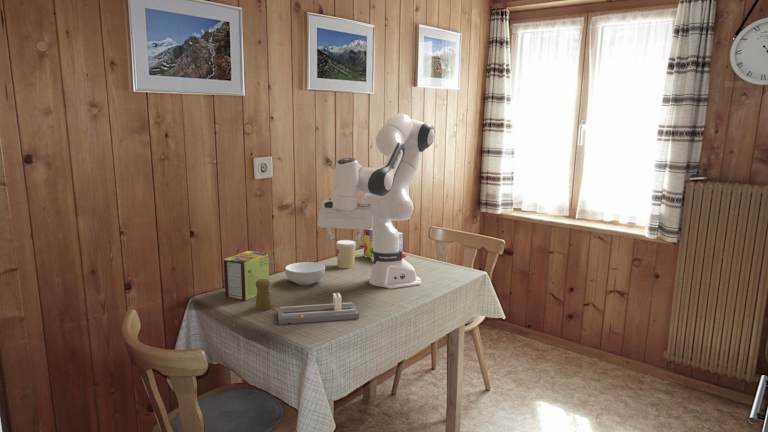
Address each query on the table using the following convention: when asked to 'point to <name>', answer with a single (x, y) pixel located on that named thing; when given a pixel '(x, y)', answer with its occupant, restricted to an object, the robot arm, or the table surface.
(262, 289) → the cork
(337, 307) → the fader tab
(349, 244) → the coffee cup
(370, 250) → the snack box
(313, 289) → the table surface
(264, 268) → the protein box
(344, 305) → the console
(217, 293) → the table surface
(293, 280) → the cereal bowl
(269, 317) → the table surface
